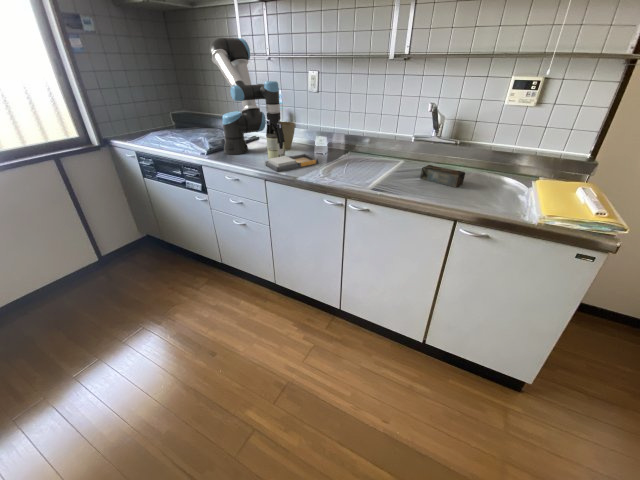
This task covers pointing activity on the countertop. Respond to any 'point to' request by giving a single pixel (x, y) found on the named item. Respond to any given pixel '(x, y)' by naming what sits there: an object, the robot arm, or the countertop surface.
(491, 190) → the countertop surface
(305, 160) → the grey compartment tray
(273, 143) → the coffee can
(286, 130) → the plant pot
